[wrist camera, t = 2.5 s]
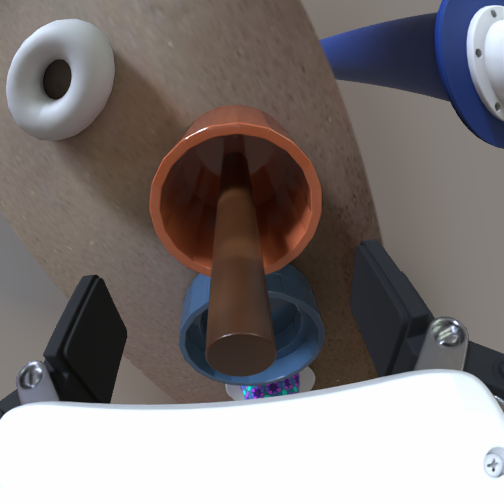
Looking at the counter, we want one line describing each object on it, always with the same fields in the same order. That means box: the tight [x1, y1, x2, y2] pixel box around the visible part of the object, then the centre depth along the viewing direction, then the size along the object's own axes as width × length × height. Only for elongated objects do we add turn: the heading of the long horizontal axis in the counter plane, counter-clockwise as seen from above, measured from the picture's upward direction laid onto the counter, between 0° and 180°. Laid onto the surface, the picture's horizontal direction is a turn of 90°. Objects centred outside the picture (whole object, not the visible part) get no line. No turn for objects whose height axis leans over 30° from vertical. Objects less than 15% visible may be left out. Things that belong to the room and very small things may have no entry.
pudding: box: [226, 366, 315, 401], centre depth 38 cm, size 12×12×5 cm
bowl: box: [179, 264, 325, 386], centre depth 30 cm, size 13×13×6 cm
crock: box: [149, 105, 322, 277], centre depth 20 cm, size 9×9×9 cm
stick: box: [205, 152, 277, 377], centre depth 16 cm, size 2×2×18 cm
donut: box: [6, 19, 115, 141], centre depth 17 cm, size 10×4×10 cm
